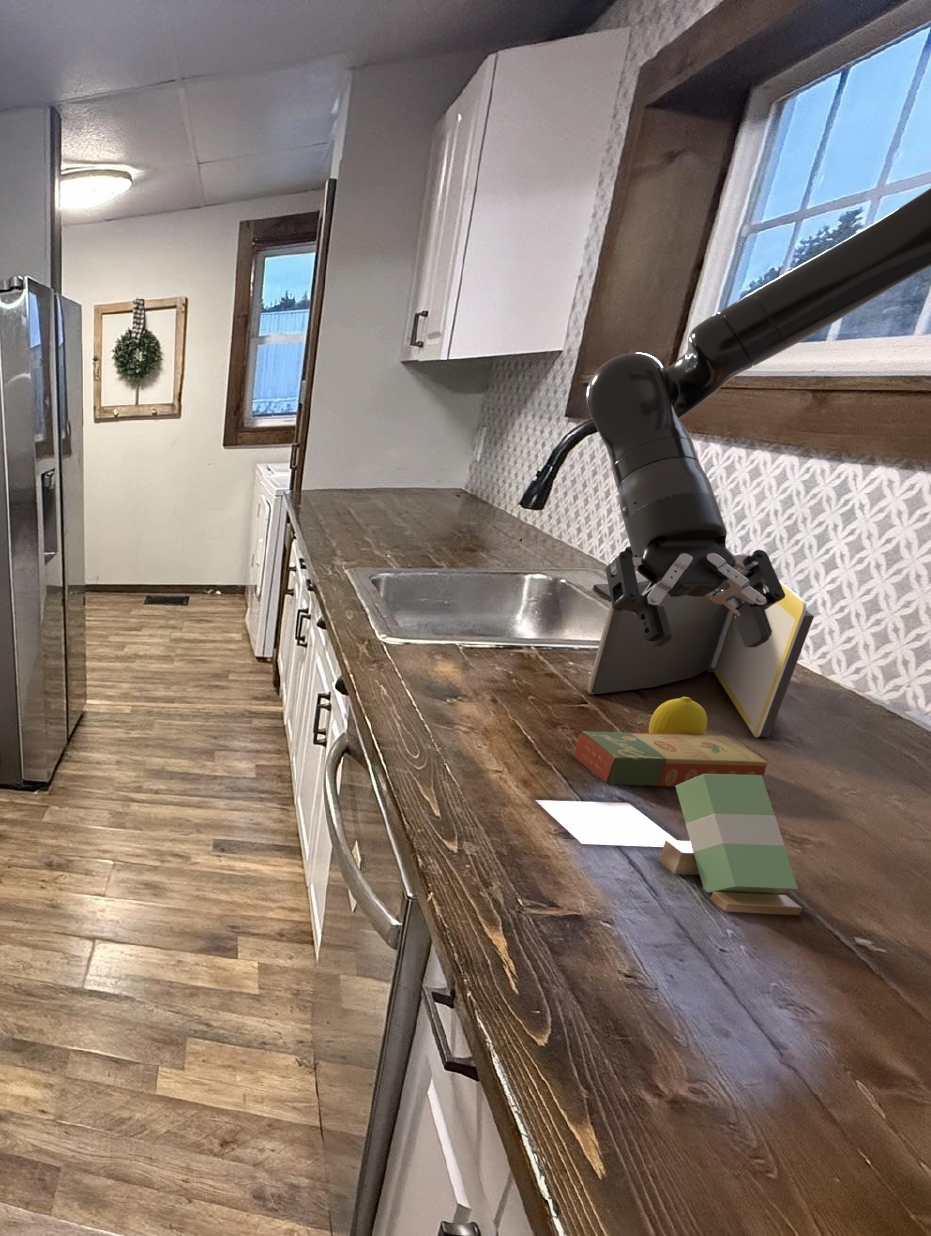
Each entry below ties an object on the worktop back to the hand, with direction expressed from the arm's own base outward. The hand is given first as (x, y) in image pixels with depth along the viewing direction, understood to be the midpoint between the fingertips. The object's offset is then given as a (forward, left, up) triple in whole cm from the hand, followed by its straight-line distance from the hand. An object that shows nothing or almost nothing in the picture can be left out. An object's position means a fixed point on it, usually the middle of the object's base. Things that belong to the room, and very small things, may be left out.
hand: (709, 643), depth 78 cm
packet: (-4, +10, -16) cm, 19 cm away
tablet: (-8, -52, -22) cm, 56 cm away
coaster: (+4, +2, -21) cm, 22 cm away
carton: (-3, -16, -22) cm, 27 cm away
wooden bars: (-5, +11, -21) cm, 24 cm away
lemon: (-5, -25, -22) cm, 33 cm away
